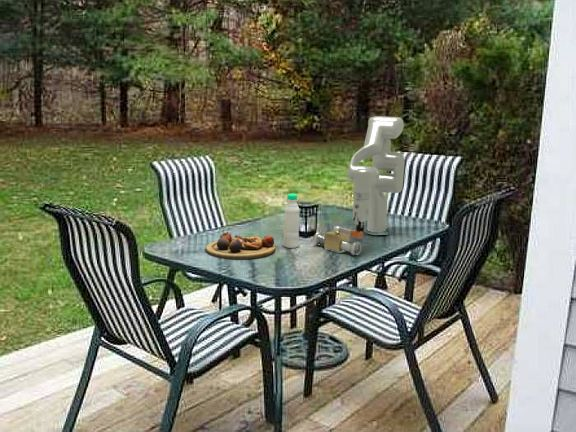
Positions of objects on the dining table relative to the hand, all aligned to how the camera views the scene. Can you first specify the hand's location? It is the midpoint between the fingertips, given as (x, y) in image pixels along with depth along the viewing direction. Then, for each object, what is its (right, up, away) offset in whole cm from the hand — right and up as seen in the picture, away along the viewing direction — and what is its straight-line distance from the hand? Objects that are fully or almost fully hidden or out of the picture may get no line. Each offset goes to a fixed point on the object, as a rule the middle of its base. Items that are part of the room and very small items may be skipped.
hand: (359, 235), depth 286 cm
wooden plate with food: (-55, -7, 0) cm, 55 cm away
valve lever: (-6, 0, -3) cm, 7 cm away
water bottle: (-32, -6, +8) cm, 33 cm away
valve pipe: (-10, -7, +3) cm, 13 cm away
